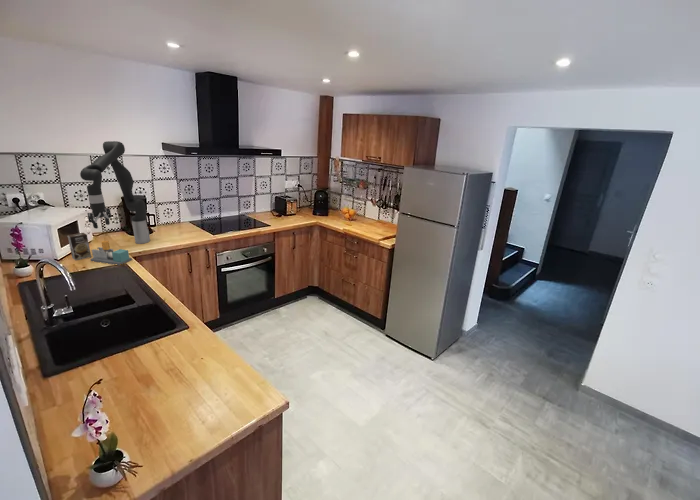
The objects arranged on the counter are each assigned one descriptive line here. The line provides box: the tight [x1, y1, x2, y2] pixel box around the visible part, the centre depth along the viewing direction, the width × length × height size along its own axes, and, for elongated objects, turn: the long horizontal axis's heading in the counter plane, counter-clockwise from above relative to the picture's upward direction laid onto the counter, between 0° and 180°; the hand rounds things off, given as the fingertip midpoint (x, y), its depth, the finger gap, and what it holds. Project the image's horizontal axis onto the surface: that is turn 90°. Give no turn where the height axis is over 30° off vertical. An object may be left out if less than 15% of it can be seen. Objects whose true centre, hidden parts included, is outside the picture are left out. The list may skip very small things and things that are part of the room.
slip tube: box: [101, 240, 113, 258], centre depth 224 cm, size 12×4×11 cm, turn 78°
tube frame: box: [90, 246, 133, 266], centre depth 225 cm, size 22×10×8 cm, turn 78°
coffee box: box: [67, 232, 92, 261], centre depth 226 cm, size 9×6×16 cm
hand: (102, 226), depth 219 cm, fingers open, 8 cm apart
